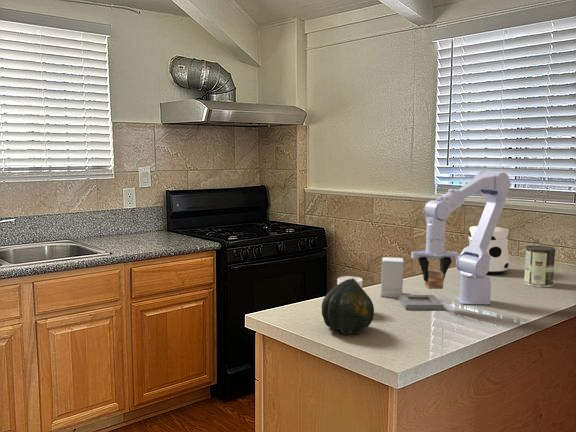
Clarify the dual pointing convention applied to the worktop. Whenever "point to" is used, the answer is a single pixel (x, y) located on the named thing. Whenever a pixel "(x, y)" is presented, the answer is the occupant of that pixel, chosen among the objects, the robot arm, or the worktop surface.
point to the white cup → (342, 279)
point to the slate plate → (420, 302)
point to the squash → (347, 308)
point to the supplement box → (392, 277)
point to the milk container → (496, 249)
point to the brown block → (434, 279)
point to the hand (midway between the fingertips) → (433, 280)
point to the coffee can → (539, 266)
